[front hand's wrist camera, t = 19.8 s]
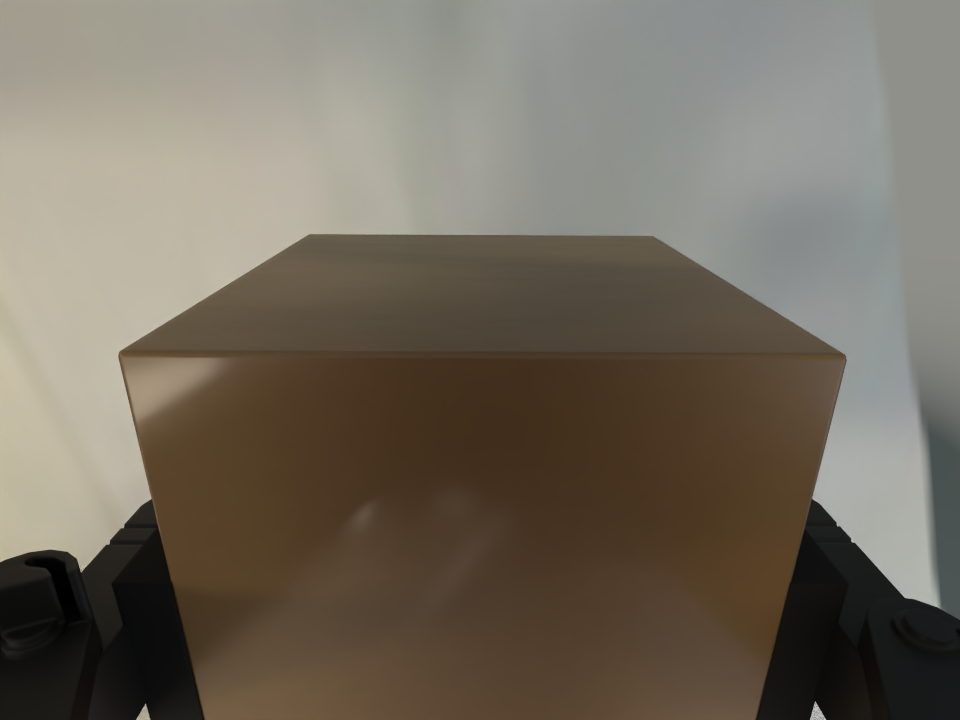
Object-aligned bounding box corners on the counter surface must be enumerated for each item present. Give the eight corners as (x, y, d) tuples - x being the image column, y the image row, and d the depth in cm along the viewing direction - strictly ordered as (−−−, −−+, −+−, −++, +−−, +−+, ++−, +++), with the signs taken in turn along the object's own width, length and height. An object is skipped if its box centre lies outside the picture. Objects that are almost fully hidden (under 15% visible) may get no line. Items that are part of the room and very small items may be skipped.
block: (339, 548, 17) (235, 861, 10) (307, 233, 14) (114, 351, 6) (619, 550, 17) (722, 862, 10) (655, 235, 14) (851, 354, 6)
